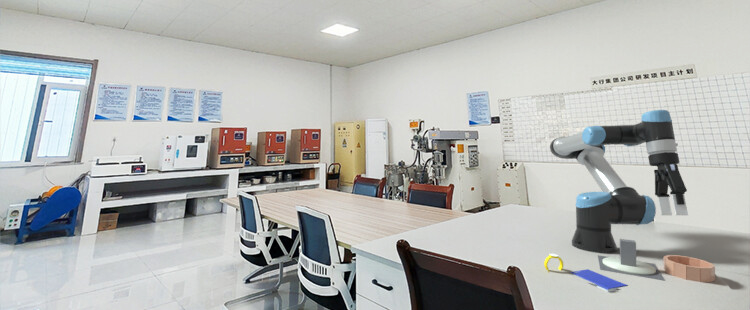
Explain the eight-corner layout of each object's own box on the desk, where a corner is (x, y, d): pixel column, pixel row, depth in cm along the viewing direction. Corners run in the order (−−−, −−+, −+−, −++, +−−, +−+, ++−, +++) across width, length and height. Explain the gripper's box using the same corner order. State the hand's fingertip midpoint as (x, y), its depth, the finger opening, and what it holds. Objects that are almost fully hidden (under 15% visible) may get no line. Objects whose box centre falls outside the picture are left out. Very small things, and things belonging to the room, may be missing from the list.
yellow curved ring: (559, 270, 102) (559, 253, 102) (564, 274, 99) (565, 256, 99) (542, 270, 102) (543, 253, 102) (547, 273, 99) (548, 256, 99)
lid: (603, 269, 100) (603, 242, 100) (601, 256, 112) (601, 233, 111) (660, 278, 92) (660, 250, 92) (651, 264, 103) (651, 238, 103)
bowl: (668, 279, 93) (668, 263, 93) (660, 267, 102) (660, 253, 102) (720, 287, 87) (720, 270, 87) (707, 274, 96) (706, 259, 96)
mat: (600, 271, 100) (600, 269, 100) (597, 257, 113) (597, 255, 113) (665, 283, 91) (665, 280, 91) (654, 266, 104) (654, 263, 104)
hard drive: (569, 272, 98) (607, 288, 86) (588, 268, 100) (628, 284, 88) (569, 276, 98) (607, 293, 86) (588, 273, 100) (628, 289, 88)
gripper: (692, 145, 91) (706, 215, 87) (664, 158, 112) (674, 215, 108) (659, 147, 94) (672, 215, 90) (638, 160, 116) (647, 215, 112)
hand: (673, 215), depth 99 cm, fingers open, 13 cm apart
